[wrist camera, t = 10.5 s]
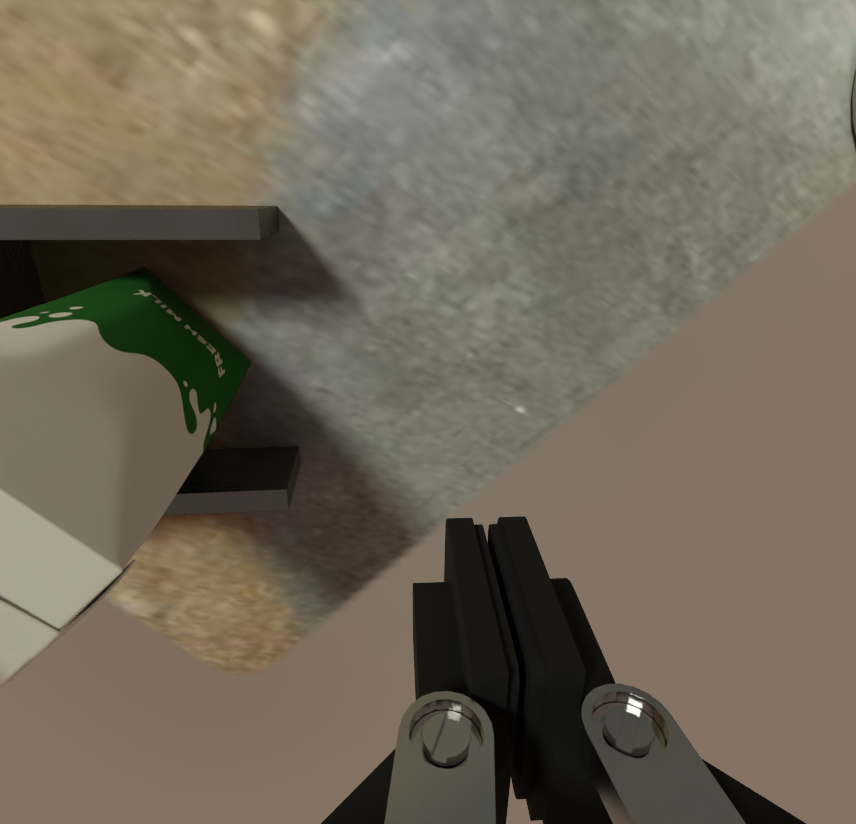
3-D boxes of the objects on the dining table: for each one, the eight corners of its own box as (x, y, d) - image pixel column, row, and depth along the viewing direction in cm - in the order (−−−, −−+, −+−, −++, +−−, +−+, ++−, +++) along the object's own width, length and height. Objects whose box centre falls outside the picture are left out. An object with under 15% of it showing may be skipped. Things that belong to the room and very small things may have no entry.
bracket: (276, 206, 27) (254, 209, 22) (300, 464, 33) (286, 516, 27) (-8, 204, 26) (-102, 208, 21) (66, 473, 31) (5, 529, 26)
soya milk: (33, 359, 29) (-570, 661, 10) (143, 238, 27) (-341, 341, 9) (170, 464, 32) (-108, 845, 13) (277, 361, 30) (130, 633, 12)
